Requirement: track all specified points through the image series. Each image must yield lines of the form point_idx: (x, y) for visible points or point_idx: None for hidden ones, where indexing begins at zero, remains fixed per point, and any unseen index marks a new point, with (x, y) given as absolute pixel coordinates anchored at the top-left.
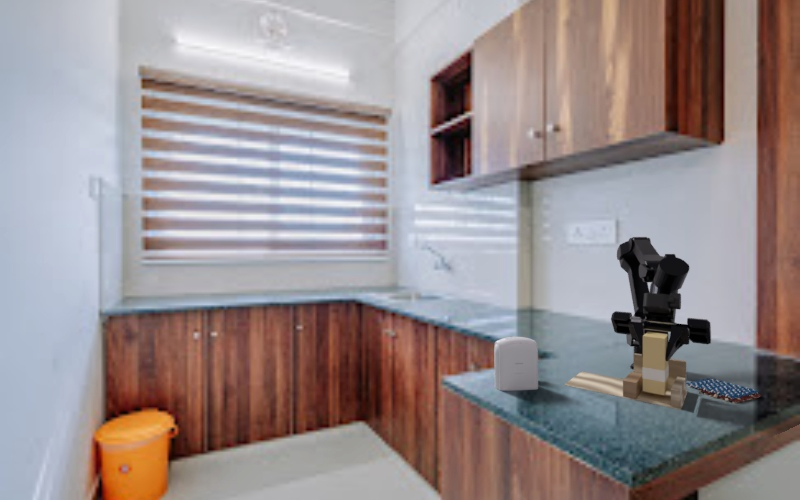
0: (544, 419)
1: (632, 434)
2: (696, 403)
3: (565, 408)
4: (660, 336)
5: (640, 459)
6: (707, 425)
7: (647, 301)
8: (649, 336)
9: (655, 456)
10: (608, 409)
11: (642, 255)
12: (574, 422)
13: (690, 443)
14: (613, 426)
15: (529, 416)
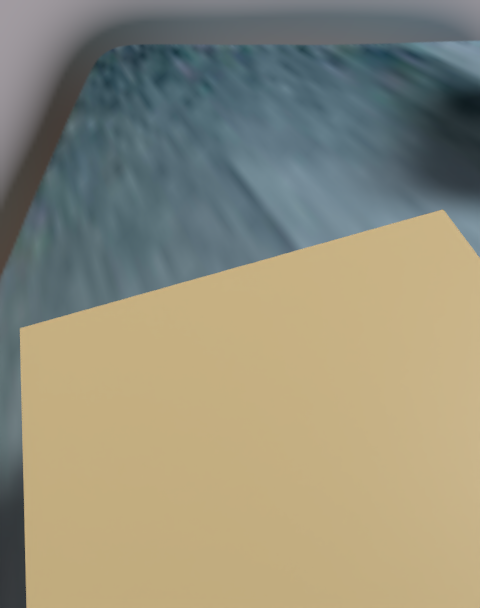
0: (351, 66)
1: (170, 148)
2: None
3: (387, 144)
4: (181, 547)
5: (110, 79)
6: (18, 387)
7: None
8: (344, 279)
9: (92, 104)
10: (315, 236)
11: None
12: (300, 101)
13: (44, 209)
14: (226, 149)
15: (383, 54)
